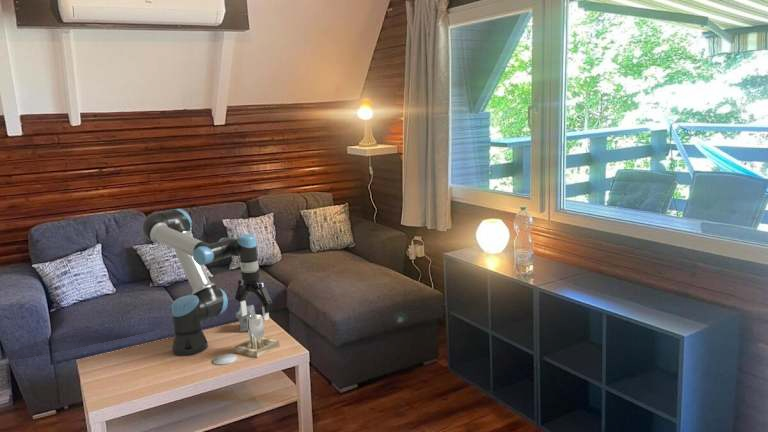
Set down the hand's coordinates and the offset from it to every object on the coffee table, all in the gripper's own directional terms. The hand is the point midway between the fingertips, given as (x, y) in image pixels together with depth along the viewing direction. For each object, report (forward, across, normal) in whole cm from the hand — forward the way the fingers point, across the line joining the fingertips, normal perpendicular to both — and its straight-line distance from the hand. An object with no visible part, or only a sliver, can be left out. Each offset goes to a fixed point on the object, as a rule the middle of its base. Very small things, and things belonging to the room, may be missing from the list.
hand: (255, 317), depth 267 cm
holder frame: (+15, -1, 0) cm, 15 cm away
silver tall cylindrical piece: (+15, -1, 0) cm, 15 cm away
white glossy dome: (+15, -4, -15) cm, 21 cm away
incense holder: (+15, -24, +16) cm, 32 cm away
